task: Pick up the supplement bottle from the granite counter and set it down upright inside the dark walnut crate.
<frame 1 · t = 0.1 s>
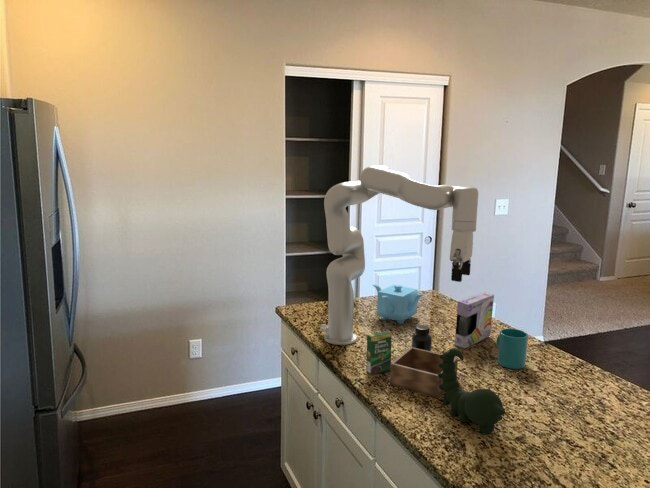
hand: (460, 277, 165), 31 cm above the worktop, tool pointing down, fingers open, 9 cm apart
supplement bottle: (420, 360, 176), on the worktop
cup: (508, 362, 175), on the worktop
teakettle: (395, 319, 217), on the worktop
cake pan box: (472, 342, 193), on the worktop
walnut crate: (423, 381, 160), on the worktop
coffee box: (378, 372, 167), on the worktop
toy figurine: (469, 420, 138), on the worktop
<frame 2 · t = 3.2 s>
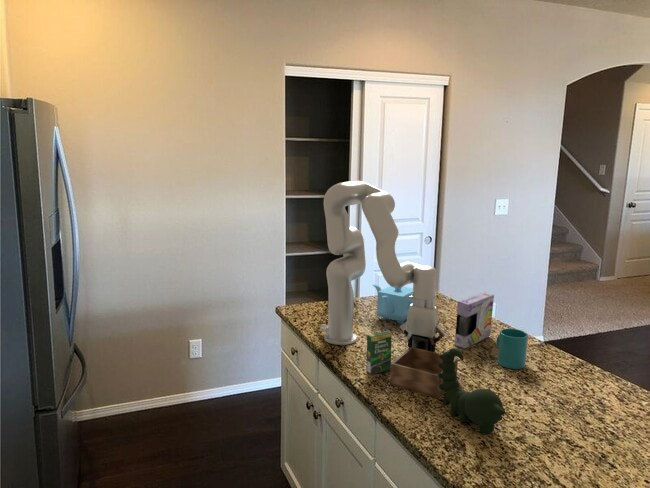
hand: (421, 351, 175), 3 cm above the worktop, tool pointing down, fingers closed on supplement bottle, 6 cm apart
supplement bottle: (420, 360, 176), on the worktop, touching gripper
everything else where it was.
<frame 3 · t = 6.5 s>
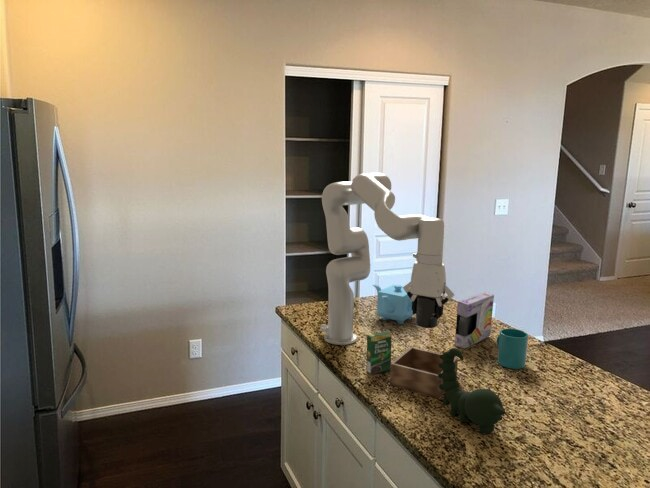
hand: (426, 314, 156), 22 cm above the worktop, tool pointing down, fingers closed on supplement bottle, 6 cm apart
supplement bottle: (426, 325, 157), point 18 cm above the worktop, touching gripper
everything else where it was.
when the fingers open (6 cm above the worktop, at t = 10.2 s): supplement bottle drops 1 cm, resting on walnut crate.
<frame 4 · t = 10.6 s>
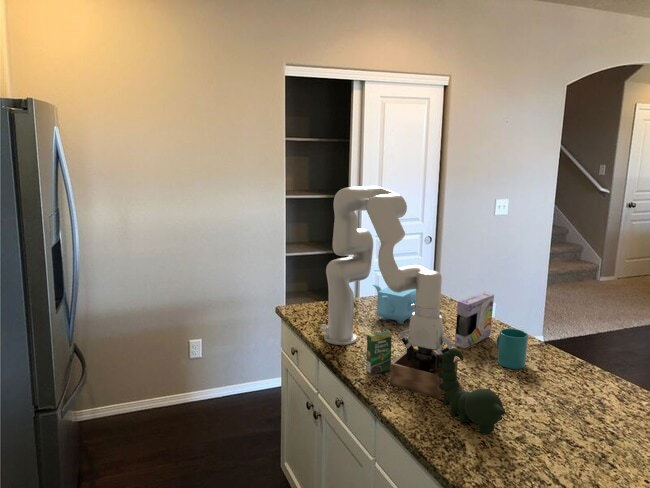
hand: (424, 362, 159), 6 cm above the worktop, tool pointing down, fingers open, 9 cm apart
supplement bottle: (423, 379, 160), point 1 cm above the worktop, touching walnut crate
everything else where it was.
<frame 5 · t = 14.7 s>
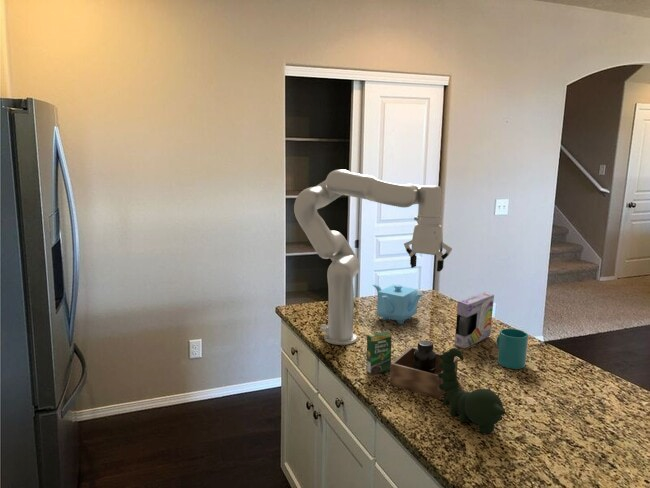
hand: (426, 268, 179), 30 cm above the worktop, tool pointing down, fingers open, 9 cm apart
nothing on the worktop moved.
at the end: supplement bottle inside the target area on the walnut crate (0.1 cm from its centre), point 0.6 cm above the walnut crate's base; supplement bottle tilted 0°; the gripper is holding nothing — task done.
